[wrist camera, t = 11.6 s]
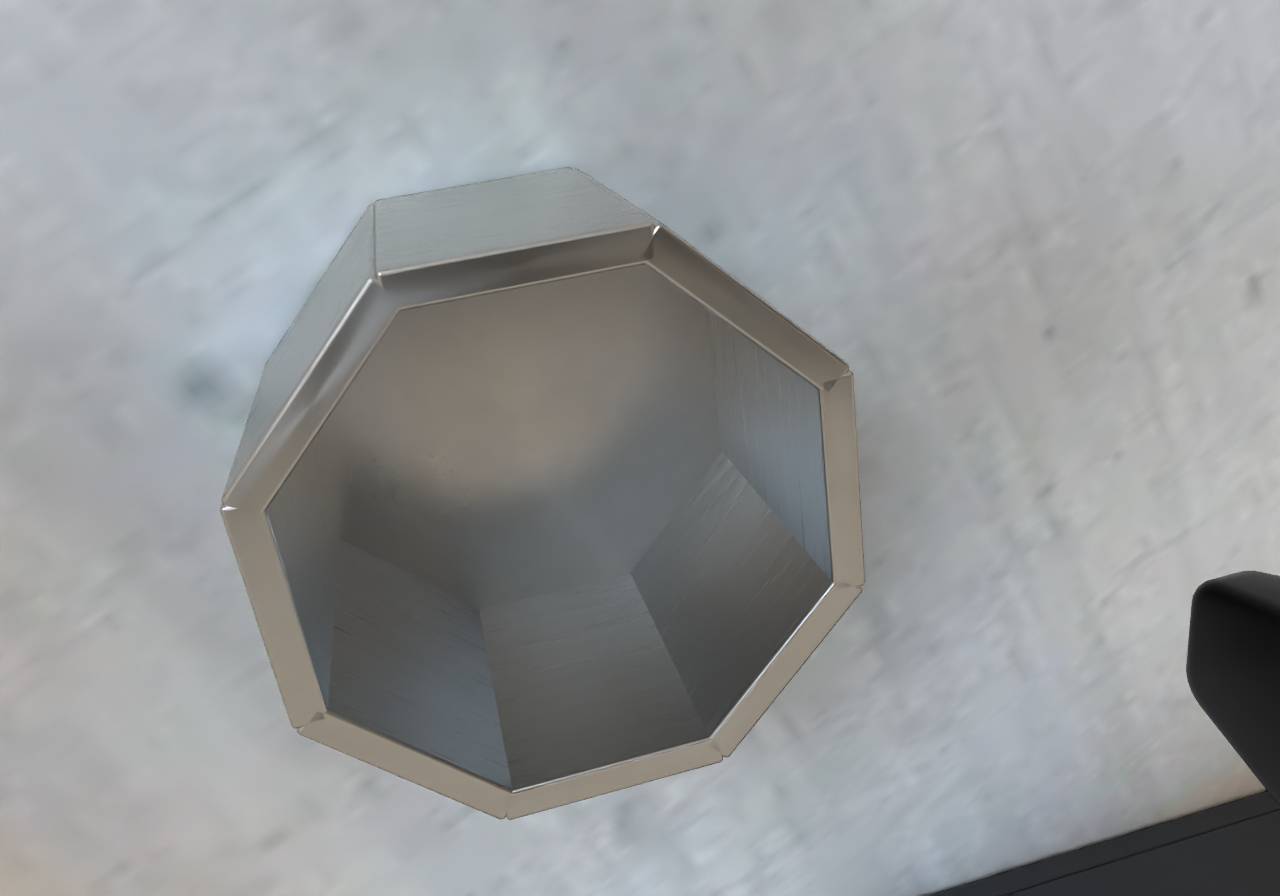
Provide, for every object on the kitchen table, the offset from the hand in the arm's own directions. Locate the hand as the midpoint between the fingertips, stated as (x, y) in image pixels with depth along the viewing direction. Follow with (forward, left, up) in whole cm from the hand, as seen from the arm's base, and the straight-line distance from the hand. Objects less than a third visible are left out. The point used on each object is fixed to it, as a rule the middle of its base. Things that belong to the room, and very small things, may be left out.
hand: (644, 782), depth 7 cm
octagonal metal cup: (0, 0, -8) cm, 8 cm away
